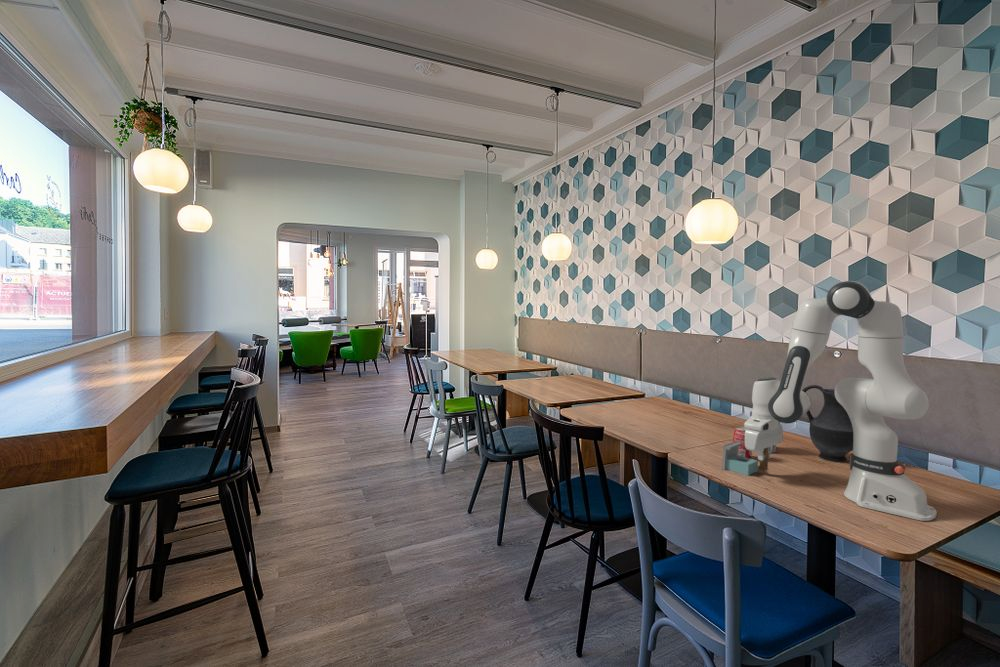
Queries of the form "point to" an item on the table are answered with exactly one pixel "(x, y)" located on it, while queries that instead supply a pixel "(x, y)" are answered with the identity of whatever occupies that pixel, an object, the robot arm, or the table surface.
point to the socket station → (737, 460)
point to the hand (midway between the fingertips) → (764, 458)
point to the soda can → (740, 437)
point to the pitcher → (831, 428)
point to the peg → (764, 461)
